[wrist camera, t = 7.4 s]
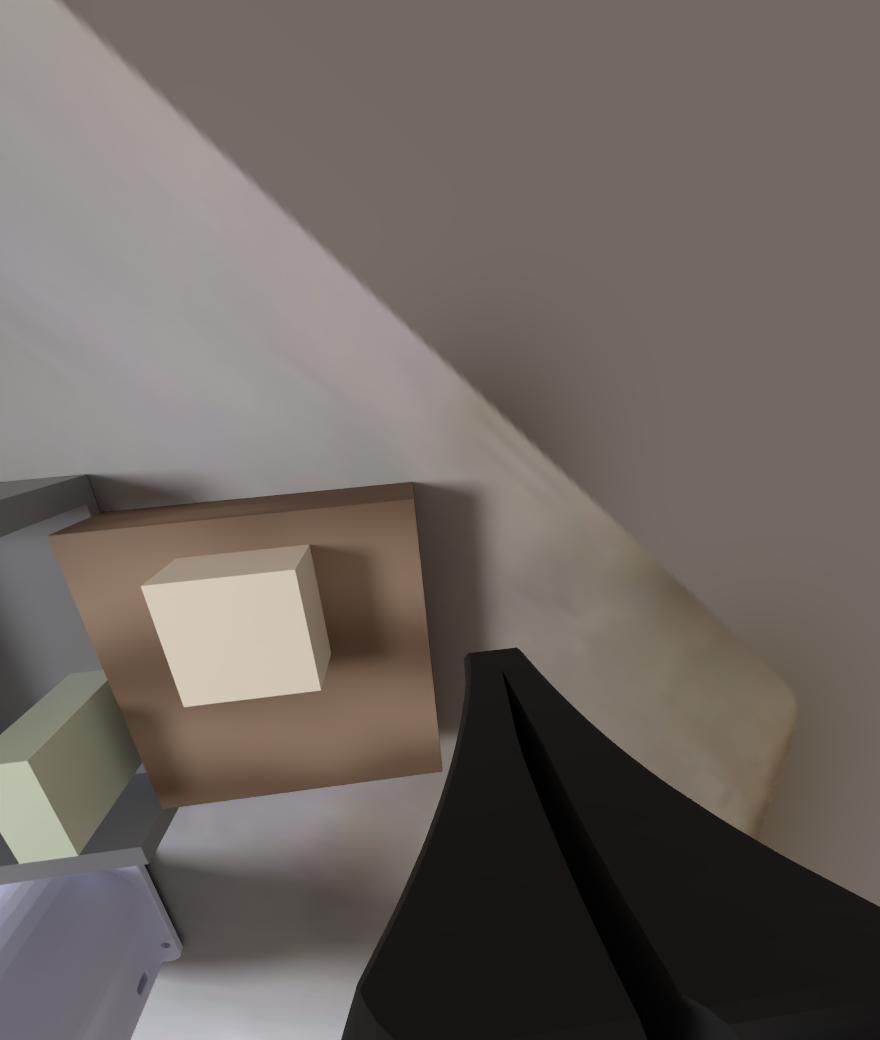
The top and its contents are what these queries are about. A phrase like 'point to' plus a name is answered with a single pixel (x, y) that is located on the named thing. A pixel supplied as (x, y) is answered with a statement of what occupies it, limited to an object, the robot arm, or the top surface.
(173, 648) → the cream tile
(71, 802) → the sage tile
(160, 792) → the walnut board
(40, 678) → the box
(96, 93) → the top surface
